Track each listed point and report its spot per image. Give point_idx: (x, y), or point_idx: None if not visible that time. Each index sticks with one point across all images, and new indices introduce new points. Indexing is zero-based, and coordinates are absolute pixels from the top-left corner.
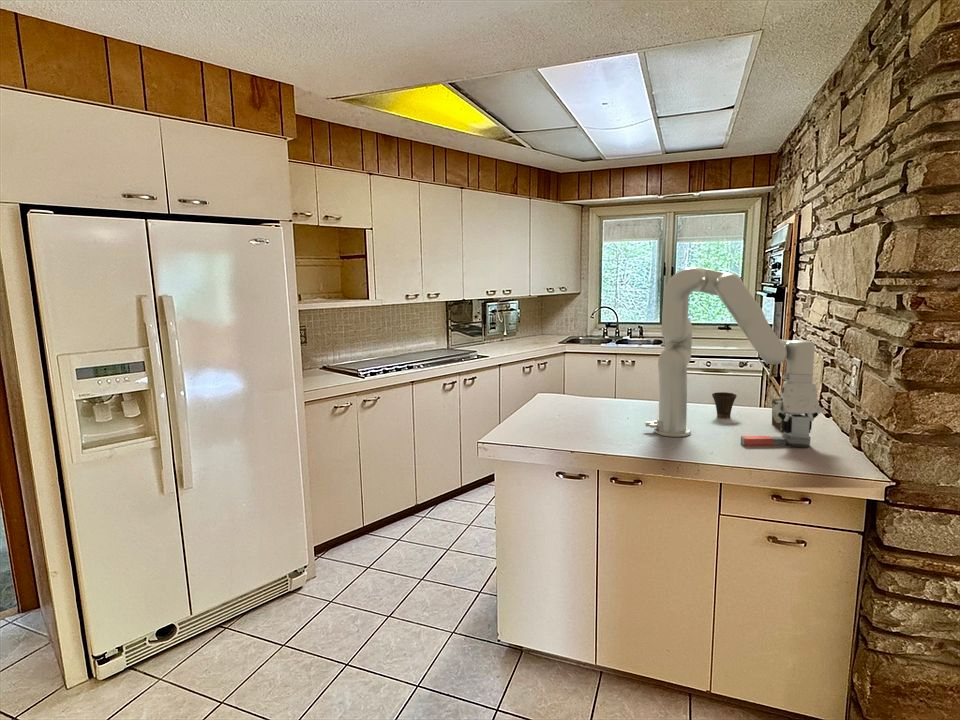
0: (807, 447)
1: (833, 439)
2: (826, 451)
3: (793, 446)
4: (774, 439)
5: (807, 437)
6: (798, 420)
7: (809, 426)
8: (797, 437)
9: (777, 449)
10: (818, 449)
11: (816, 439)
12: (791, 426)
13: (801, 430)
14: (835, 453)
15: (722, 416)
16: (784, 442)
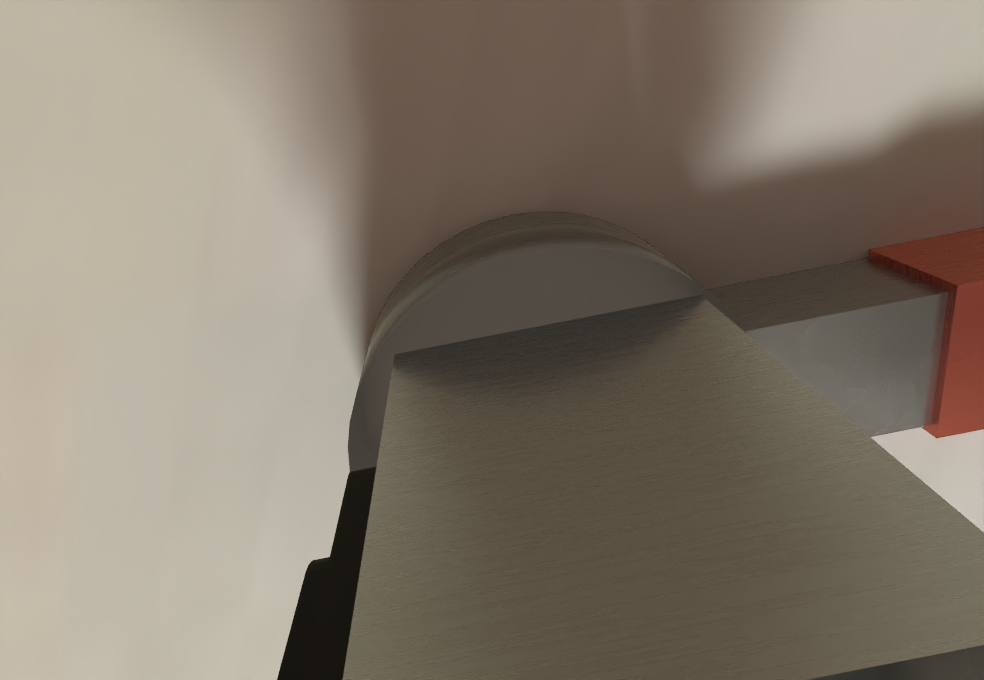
0: (423, 260)
1: (36, 667)
2: (173, 116)
3: (625, 234)
4: (928, 293)
5: (416, 358)
6: (752, 577)
7: (352, 564)
8: (597, 322)
9: (883, 97)
10: (279, 208)
11: (234, 631)
12: (836, 425)
13: (557, 401)
14: (37, 16)
15: None
16: (742, 305)
